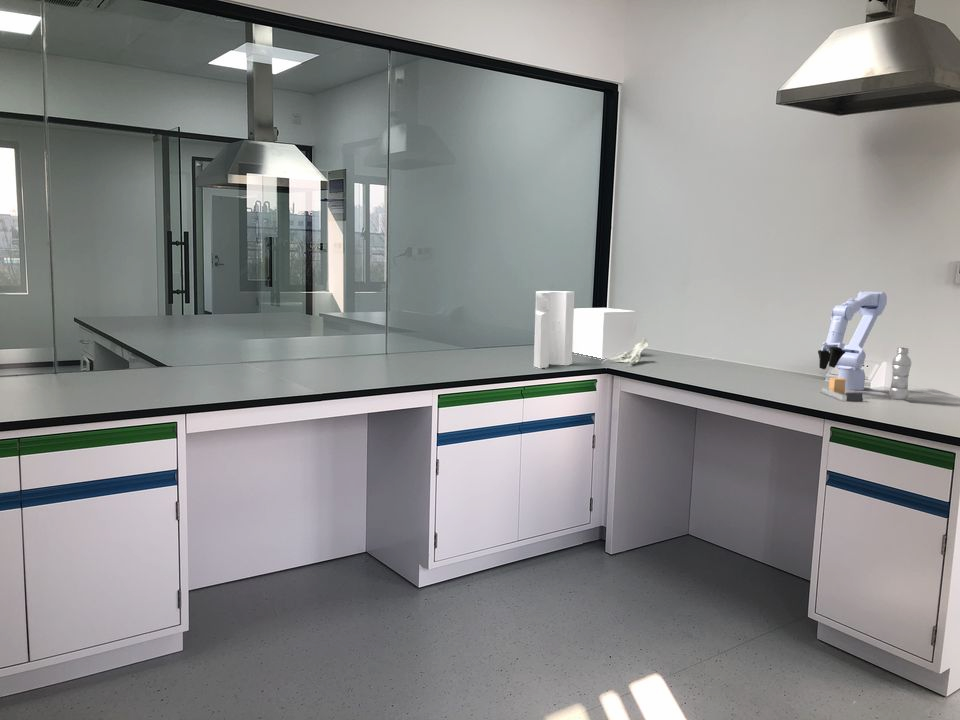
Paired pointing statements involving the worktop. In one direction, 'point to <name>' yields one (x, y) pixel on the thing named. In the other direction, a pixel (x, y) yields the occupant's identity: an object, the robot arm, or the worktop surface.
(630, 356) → the skeletal model
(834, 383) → the block
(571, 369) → the worktop surface
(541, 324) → the white grooved block
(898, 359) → the plastic bottle
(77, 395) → the worktop surface
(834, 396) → the mounting plate
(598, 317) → the cube
